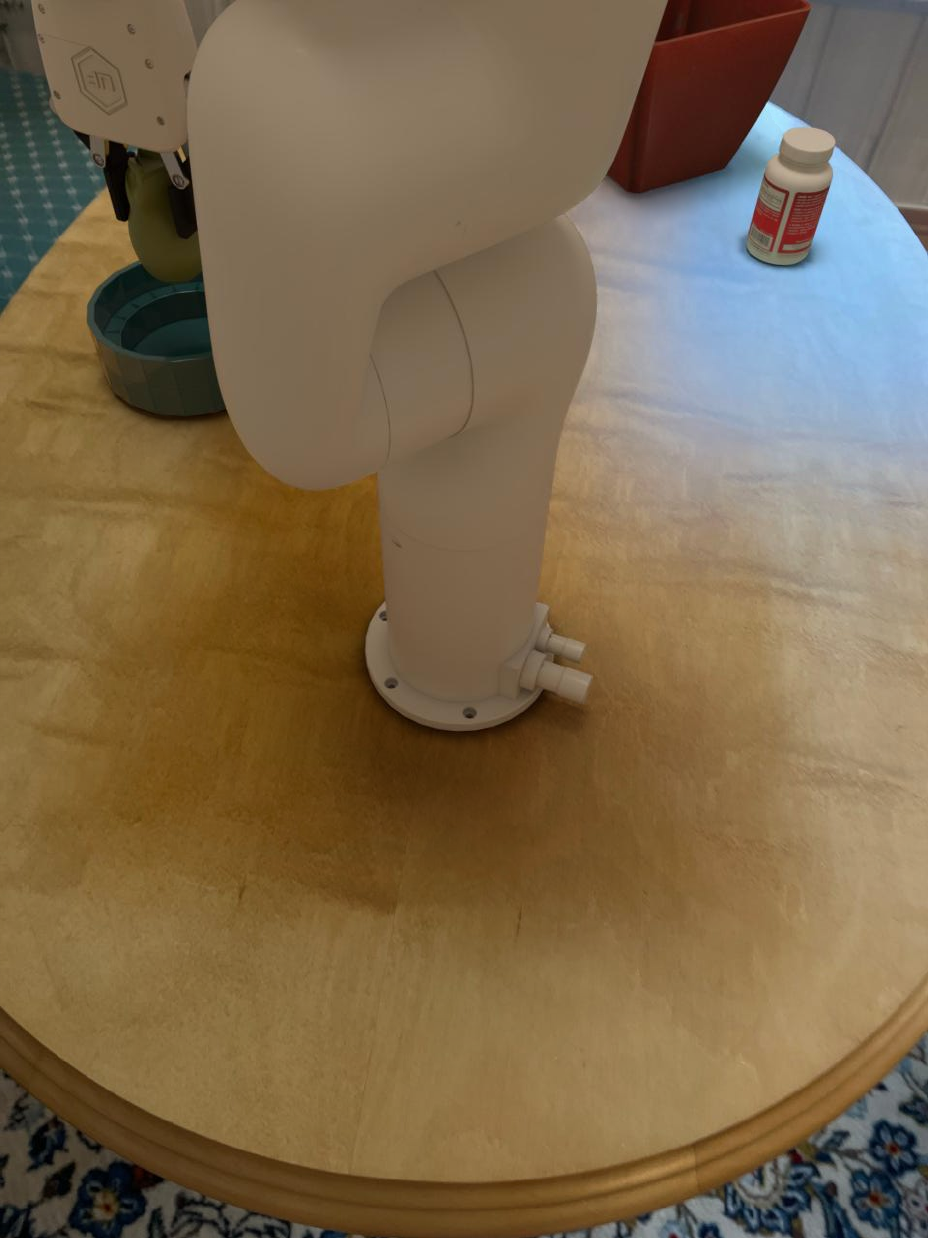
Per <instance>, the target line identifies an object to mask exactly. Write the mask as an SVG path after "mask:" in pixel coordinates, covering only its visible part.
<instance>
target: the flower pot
mask: <svg viewBox="0 0 928 1238" xmlns="http://www.w3.org/2000/svg"><path fill="white" fill-rule="evenodd" d="M812 6H813V5H812V4H811V3H810V1H807V0H668V2H667V5H666V8H665V11H664V14H663V17H662V20H661V23H660V26H659V29H658V32H657V35H656V38H655V41H654V45H653V48H652V51H651V54H650V57H649V60H648V63H647V66H646V69H645V72H644V75H643V78H642V81H641V84H640V87H639V90H638V94H637V97H636V100H635V103H634V106H633V109H632V112H631V115H630V118H629V121H628V124H627V127H626V130H625V132H624V135H623V138H622V141H621V144H620V146H619V148H618V151H617V153H616V156H615V158H614V161H613V162H612V164H611V166H610V168H609V170H608V172H607V174H606V175H607V176H608V177H609V178H610V179H612V180H613V181H614V182H615V183H616V184H617V185H618V186H620V187H621V188H622V189H623V190H624V191H626V192H627V193H629V194H633V195H639V194H643V193H646V192H649V191H653V190H657V189H662V188H664V187H668V186H671V185H674V184H678V183H682V182H686V181H689V180H693V179H696V178H700V177H702V176H707V175H710V174H714V173H717V172H721V171H723V170H725V169H726V168H727V167H728V165H729V164H730V163H731V161H732V160H733V159H734V157H735V155H737V153H738V151H739V150H740V148H741V146H742V145H743V143H744V141H745V140H746V138H747V137H748V135H750V133H751V131H752V129H753V127H754V126H755V124H756V123H757V121H758V119H759V118H760V116H761V115H762V113H763V111H764V109H765V108H766V105H767V104H768V102H769V100H770V98H771V96H772V94H773V93H774V90H775V89H776V87H777V85H778V83H779V81H780V79H781V77H782V75H783V73H784V71H785V69H786V67H787V65H788V62H789V61H790V59H791V56H792V54H793V52H794V50H795V48H796V45H797V43H798V41H799V39H800V36H801V34H802V32H803V30H804V27H805V25H806V22H807V20H808V17H809V15H810V13H811V10H812Z"/></svg>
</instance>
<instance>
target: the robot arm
mask: <svg viewBox="0 0 928 1238" xmlns="http://www.w3.org/2000/svg"><path fill="white" fill-rule="evenodd" d="M667 2H668V0H235V1H234V2H232V3H231V4H230V5H228V6H227V7H226V8H225V9H224V10H223V11H222V12H221V13H220V14H219V15H218V16H216V18H215V19H214V21H213V22H212V23H211V25H210V26H209V27H208V29H207V30H206V33H205V34H204V36H203V38H202V40H201V42H200V44H199V47H198V45H197V42H196V38H195V34H194V29H193V27H192V24H191V20H190V17H189V14H188V11H187V8H186V4H185V2H184V0H30V3H31V11H32V17H33V22H34V29H35V33H36V38H37V43H38V48H39V52H40V56H41V60H42V61H41V62H42V64H43V69H44V73H45V77H46V80H47V84H48V87H49V91H50V98H49V100H48V106H49V108H50V110H51V111H52V112H53V113H54V114H55V115H56V116H58V117H59V119H60V121H61V122H62V123H63V124H64V125H65V126H67V127H68V128H71V130H72V132H73V133H74V135H75V136H76V138H77V139H79V140H80V142H81V143H82V144H83V145H84V146H85V147H86V148H87V149H88V150H89V151H90V159H91V161H92V163H94V165H95V166H96V167H97V168H100V169H102V171H103V176H104V179H105V183H106V186H107V190H108V194H109V197H110V201H111V205H112V208H113V212H114V216H115V218H116V220H117V221H119V222H122V223H126V222H128V218H129V212H130V204H129V201H128V197H127V193H126V186H125V179H126V171H127V169H128V167H129V165H128V159H129V158H130V157H135V156H137V154H136V152H135V151H131V150H129V151H128V149H129V147H133V148H136V149H138V148H141V149H145V150H149V151H153V152H158V153H160V155H161V157H162V160H163V162H164V164H165V167H166V169H167V171H168V174H169V176H170V178H171V181H172V184H171V185H170V186H169V187H168V189H167V193H168V197H169V202H170V206H171V210H172V215H173V219H174V223H175V228H176V232H177V235H178V236H179V237H180V238H183V239H188V238H189V237H191V236H192V235H193V234H194V233H195V232H196V231H197V230H198V236H199V244H200V253H201V262H202V270H203V279H204V288H205V297H206V306H207V315H208V324H209V331H210V338H211V345H212V352H213V359H214V364H215V369H216V374H217V378H218V383H219V387H220V390H221V394H222V397H223V400H224V403H225V406H226V409H225V410H226V411H227V414H228V416H229V420H230V422H231V424H232V427H233V428H234V430H235V433H236V434H237V436H238V438H239V440H240V441H241V443H242V444H243V446H244V448H245V449H246V451H247V452H248V454H249V455H250V456H251V457H252V459H253V460H254V461H255V462H256V463H257V464H258V465H259V466H260V467H261V468H262V469H263V470H264V471H265V472H266V473H267V474H269V475H270V476H272V477H274V478H275V479H276V480H278V481H280V482H281V483H283V484H285V485H287V486H290V487H293V488H295V489H296V488H297V489H300V490H305V491H315V492H316V491H328V490H333V489H334V490H335V489H338V488H341V487H345V486H348V485H350V484H352V483H355V482H358V481H360V480H362V479H364V478H366V477H369V476H371V475H373V474H376V487H377V488H376V490H377V504H378V505H377V506H378V519H379V532H380V545H381V546H380V547H381V560H382V574H383V586H384V587H383V589H384V601H383V603H382V604H381V605H380V606H379V607H378V608H377V610H376V611H375V613H374V614H373V617H372V618H371V620H370V622H369V625H368V628H367V632H366V635H365V648H364V652H365V663H366V668H367V670H368V674H369V677H370V680H371V682H372V685H374V688H375V689H376V691H377V693H378V694H379V695H380V696H381V698H383V699H384V701H385V702H386V703H387V704H388V705H389V706H390V707H391V708H393V709H394V710H395V711H397V713H399V714H401V716H403V717H405V718H407V719H409V720H411V721H413V722H415V723H417V724H420V725H423V726H426V727H429V728H433V729H435V730H441V731H442V730H443V731H451V732H468V731H469V732H471V731H478V730H483V729H484V730H485V729H487V728H492V727H495V726H498V725H501V724H503V723H506V722H508V721H510V720H512V719H514V718H515V717H517V716H519V715H520V714H521V713H523V712H525V711H526V710H527V709H528V708H529V707H530V706H531V705H532V704H533V703H534V702H535V701H536V700H537V699H538V698H539V697H540V695H541V693H542V691H544V690H546V691H548V692H551V693H554V694H556V696H558V697H561V698H564V699H566V700H569V701H572V702H575V703H577V704H580V705H584V704H585V703H586V701H587V698H588V695H589V693H590V690H591V688H592V684H593V679H594V675H593V674H589V673H586V672H584V671H581V670H578V669H575V668H572V667H569V666H566V667H565V666H563V665H561V664H560V665H559V664H557V663H554V658H555V656H557V657H561V659H564V660H567V661H569V662H572V663H574V664H578V665H580V664H581V663H582V661H583V659H584V656H585V655H586V654H585V653H586V650H587V647H588V644H587V643H585V642H582V641H579V640H576V639H574V638H571V637H565V636H563V635H562V636H561V635H558V634H555V632H554V628H552V627H551V626H550V623H549V621H548V619H549V614H550V613H549V612H550V606H549V605H548V604H545V603H543V602H540V601H538V599H539V598H538V597H539V589H540V582H541V574H542V565H543V557H544V551H545V542H546V535H547V526H548V519H549V511H550V503H551V499H552V498H551V497H552V491H553V484H554V477H555V469H556V463H557V462H556V461H557V457H558V451H559V446H560V442H561V441H560V440H561V436H562V432H563V429H564V425H565V421H566V418H567V415H568V413H569V411H570V410H569V409H570V407H571V404H572V401H573V399H574V396H575V395H576V391H577V388H578V386H579V383H580V381H581V378H582V376H583V373H584V370H585V367H586V364H587V361H588V358H589V355H590V351H591V347H592V343H593V340H594V335H595V329H596V322H597V313H598V288H597V287H598V286H597V281H596V274H595V269H594V268H595V267H594V264H593V261H592V257H591V254H590V252H589V249H588V246H587V244H586V242H585V240H584V237H583V236H582V234H581V233H580V231H579V230H578V228H577V227H576V225H575V224H574V221H572V220H571V219H570V217H569V216H568V215H567V212H569V211H570V210H572V209H573V208H575V207H576V206H577V205H579V204H581V203H582V202H583V201H584V200H586V199H587V198H588V197H589V196H590V195H591V194H593V192H594V191H595V190H596V189H597V188H598V187H599V186H600V184H601V183H602V181H603V180H604V179H605V177H606V175H607V172H608V170H609V168H610V166H611V164H612V162H613V161H614V158H615V156H616V153H617V151H618V148H619V146H620V144H621V141H622V138H623V135H624V132H625V130H626V127H627V124H628V121H629V118H630V115H631V112H632V109H633V106H634V103H635V100H636V97H637V94H638V90H639V87H640V84H641V81H642V78H643V75H644V72H645V69H646V66H647V63H648V60H649V57H650V54H651V51H652V48H653V45H654V41H655V38H656V35H657V32H658V29H659V26H660V23H661V20H662V17H663V14H664V11H665V8H666V5H667ZM180 148H181V151H182V153H183V155H184V158H185V159H184V161H183V160H182V157H181V155H180V153H179V150H180ZM554 655H555V656H554Z"/></svg>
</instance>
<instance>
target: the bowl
mask: <svg viewBox="0 0 928 1238" xmlns="http://www.w3.org/2000/svg"><path fill="white" fill-rule="evenodd" d="M86 324H87V329H88V330H89V331H88V332H89V334H90V336H91V339H92V342H93V346H94V348H95V351H96V355H97V357H98V361H99V364H100V367H101V369H102V372H103V376H104V377H105V379H106V381H107V383H108V384H109V385H108V386H109V387H110V388H111V390H112V392H113V393H114V394H115V395H117V396H118V397H119V398H121V399H122V400H124V401H125V402H127V404H129V405H131V406H132V407H135V408H138V409H141V410H145V411H147V412H150V413H154V414H157V415H167V416H178V417H190V416H199V415H206V414H213V413H218V412H221V411H224V410H227V409H226V406H225V403H224V400H223V397H222V394H221V390H220V387H219V383H218V378H217V374H216V369H215V364H214V359H213V352H212V345H211V338H210V331H209V324H208V315H207V306H206V297H205V288H204V279H203V270H202V272H201V273H200V274H199V275H198V276H197V277H195V278H194V279H192V280H190V281H188V282H185V283H180V284H171V283H166V282H162V281H160V280H158V279H156V278H155V277H153V276H152V275H151V274H150V273H149V272H148V271H147V270H146V269H145V268H144V267H143V265H142V264H141V262H140V261H139V259H138V260H136V261H134V262H132V263H130V264H127V265H126V266H123V267H121V268H120V269H118V270H116V271H114V272H112V274H110V276H108V277H107V278H106V279H104V281H102V282H101V283H100V284H99V285H97V287H96V288H95V290H94V292H93V294H92V295H91V297H90V299H89V300H88V302H87V304H86Z"/></svg>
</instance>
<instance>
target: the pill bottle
mask: <svg viewBox="0 0 928 1238" xmlns="http://www.w3.org/2000/svg"><path fill="white" fill-rule="evenodd" d="M835 146H836V139H835V137H834V136H833V135H832V134H831V133H830V132H828V131H826V130H823V129H820V128H817V127H813V126H811V127H810V126H796V127H792V128H789V129H787V130H786V131H785V132H784V133H783V135H782V138H781V141H780V144H779V149H778V152H777V153H775V154H774V155H773V156H772V157H771V158H770V159H769V160H768V162H767V164H766V166H765V169H764V171H763V176H762V179H761V184H760V186H759V190H758V194H757V198H756V202H755V205H754V209H753V213H752V217H751V222H750V224H749V230H748V233H747V237H746V243H745V244H746V248H747V250H748V252H749V253H750V254H751V256H753V257H755V258H756V259H758V260H760V261H762V262H764V263H768V264H771V265H778V266H791V265H794V264H797V263H800V262H801V261H803V260H805V258H806V257H807V256H808V254H809V252H810V250H811V247H812V244H813V241H814V238H815V235H816V231H817V228H818V225H819V222H820V219H821V216H822V213H823V209H824V206H825V203H826V200H827V197H828V194H829V191H830V188H831V185H832V182H833V178H834V170H833V167H832V164H831V163H830V162H829V161H830V160H831V159H832V157H833V154H834V150H835Z"/></svg>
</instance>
